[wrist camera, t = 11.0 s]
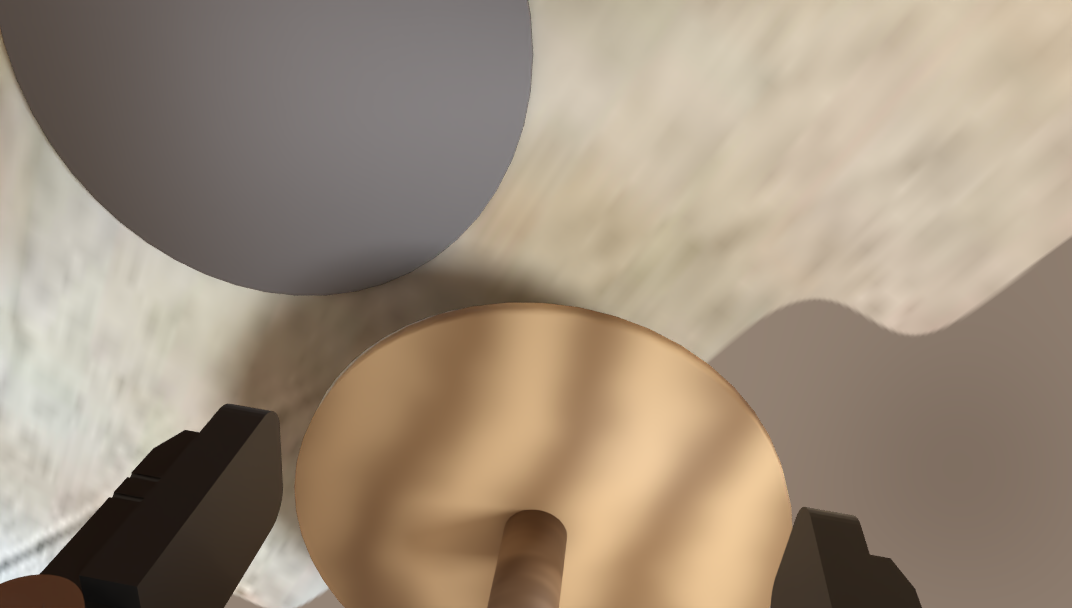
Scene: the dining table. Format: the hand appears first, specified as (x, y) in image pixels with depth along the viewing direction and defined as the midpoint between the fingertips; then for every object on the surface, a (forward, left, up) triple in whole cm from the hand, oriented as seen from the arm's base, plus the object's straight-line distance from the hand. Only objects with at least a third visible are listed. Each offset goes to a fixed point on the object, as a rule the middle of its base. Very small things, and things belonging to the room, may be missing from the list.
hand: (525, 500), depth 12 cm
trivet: (+16, +1, -29) cm, 33 cm away
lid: (0, +21, -22) cm, 30 cm away
